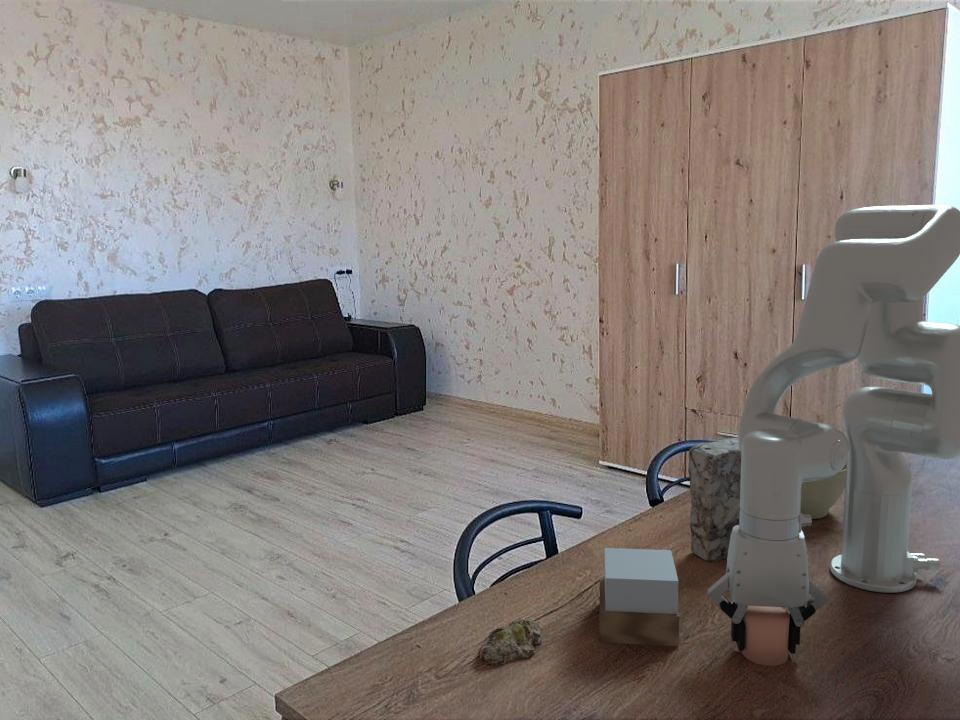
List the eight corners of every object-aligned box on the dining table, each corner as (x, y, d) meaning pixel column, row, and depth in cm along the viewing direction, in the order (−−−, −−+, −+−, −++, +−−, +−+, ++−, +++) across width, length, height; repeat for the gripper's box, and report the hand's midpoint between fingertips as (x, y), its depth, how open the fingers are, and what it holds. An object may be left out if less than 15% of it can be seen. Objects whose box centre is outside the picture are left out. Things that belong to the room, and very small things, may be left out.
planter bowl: (812, 533, 142) (815, 478, 140) (743, 507, 155) (744, 456, 153) (864, 514, 150) (868, 462, 148) (794, 491, 163) (796, 442, 161)
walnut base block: (671, 609, 117) (672, 579, 116) (678, 649, 106) (679, 616, 105) (599, 606, 119) (599, 576, 118) (599, 644, 108) (599, 612, 107)
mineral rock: (509, 609, 114) (549, 613, 108) (517, 637, 114) (556, 642, 108) (458, 640, 107) (498, 646, 101) (466, 670, 107) (506, 678, 101)
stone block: (714, 567, 130) (717, 455, 126) (684, 552, 136) (686, 445, 132) (767, 548, 136) (770, 441, 133) (736, 535, 142) (739, 432, 139)
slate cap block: (670, 580, 116) (671, 550, 115) (677, 614, 106) (678, 581, 105) (604, 578, 117) (604, 547, 116) (605, 610, 108) (605, 578, 107)
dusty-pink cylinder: (782, 642, 106) (783, 603, 105) (792, 667, 101) (794, 625, 99) (737, 640, 107) (739, 601, 106) (745, 664, 101) (746, 623, 100)
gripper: (829, 513, 103) (823, 635, 106) (698, 510, 106) (696, 629, 109) (847, 536, 95) (839, 666, 99) (705, 532, 98) (703, 658, 101)
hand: (764, 645), depth 104 cm, fingers closed on dusty-pink cylinder, 6 cm apart
